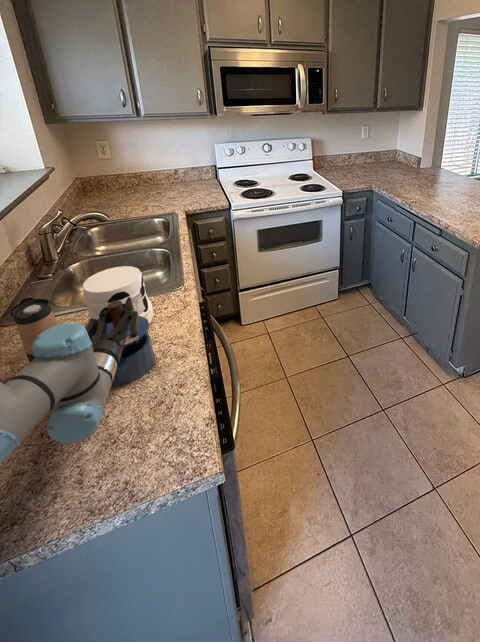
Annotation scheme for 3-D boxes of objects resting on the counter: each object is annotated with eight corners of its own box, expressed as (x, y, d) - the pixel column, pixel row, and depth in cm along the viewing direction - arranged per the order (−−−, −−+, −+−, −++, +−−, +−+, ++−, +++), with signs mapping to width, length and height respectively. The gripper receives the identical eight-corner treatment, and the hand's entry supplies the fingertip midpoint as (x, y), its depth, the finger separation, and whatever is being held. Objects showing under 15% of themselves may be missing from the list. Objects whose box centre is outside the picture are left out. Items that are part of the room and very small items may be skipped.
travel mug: (59, 356, 100) (39, 295, 94) (76, 365, 97) (56, 302, 90) (28, 375, 94) (4, 311, 87) (45, 385, 91) (21, 319, 84)
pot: (97, 400, 86) (89, 374, 84) (113, 352, 102) (107, 328, 99) (150, 387, 90) (144, 362, 87) (158, 343, 105) (153, 320, 102)
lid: (87, 357, 84) (77, 324, 81) (101, 324, 96) (93, 295, 93) (145, 345, 88) (138, 313, 85) (152, 315, 99) (146, 286, 96)
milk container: (102, 317, 117) (89, 269, 111) (158, 308, 121) (149, 261, 115) (84, 353, 101) (68, 299, 95) (150, 341, 106) (138, 288, 100)
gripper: (57, 389, 73) (91, 320, 94) (143, 370, 77) (157, 309, 98) (46, 360, 70) (84, 296, 91) (136, 342, 74) (152, 285, 96)
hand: (122, 303), depth 95 cm, fingers closed on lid, 3 cm apart
